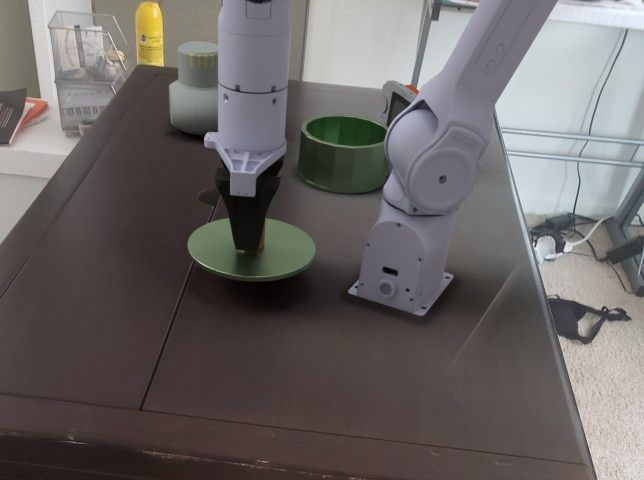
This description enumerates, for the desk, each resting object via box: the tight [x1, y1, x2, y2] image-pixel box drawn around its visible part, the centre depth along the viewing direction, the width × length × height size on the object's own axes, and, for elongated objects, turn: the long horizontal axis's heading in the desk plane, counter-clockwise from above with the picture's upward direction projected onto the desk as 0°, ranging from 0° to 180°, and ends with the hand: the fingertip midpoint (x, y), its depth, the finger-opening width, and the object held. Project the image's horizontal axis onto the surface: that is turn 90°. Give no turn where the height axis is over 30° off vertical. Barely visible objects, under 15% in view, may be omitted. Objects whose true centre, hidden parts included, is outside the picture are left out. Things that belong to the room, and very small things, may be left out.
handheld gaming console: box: [375, 79, 420, 127], centre depth 97 cm, size 14×3×8 cm, turn 18°
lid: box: [187, 216, 317, 283], centre depth 69 cm, size 12×12×5 cm
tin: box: [297, 113, 390, 195], centre depth 92 cm, size 11×11×5 cm
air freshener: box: [168, 40, 218, 136], centre depth 100 cm, size 11×8×10 cm
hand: (248, 241), depth 70 cm, fingers closed on lid, 2 cm apart
